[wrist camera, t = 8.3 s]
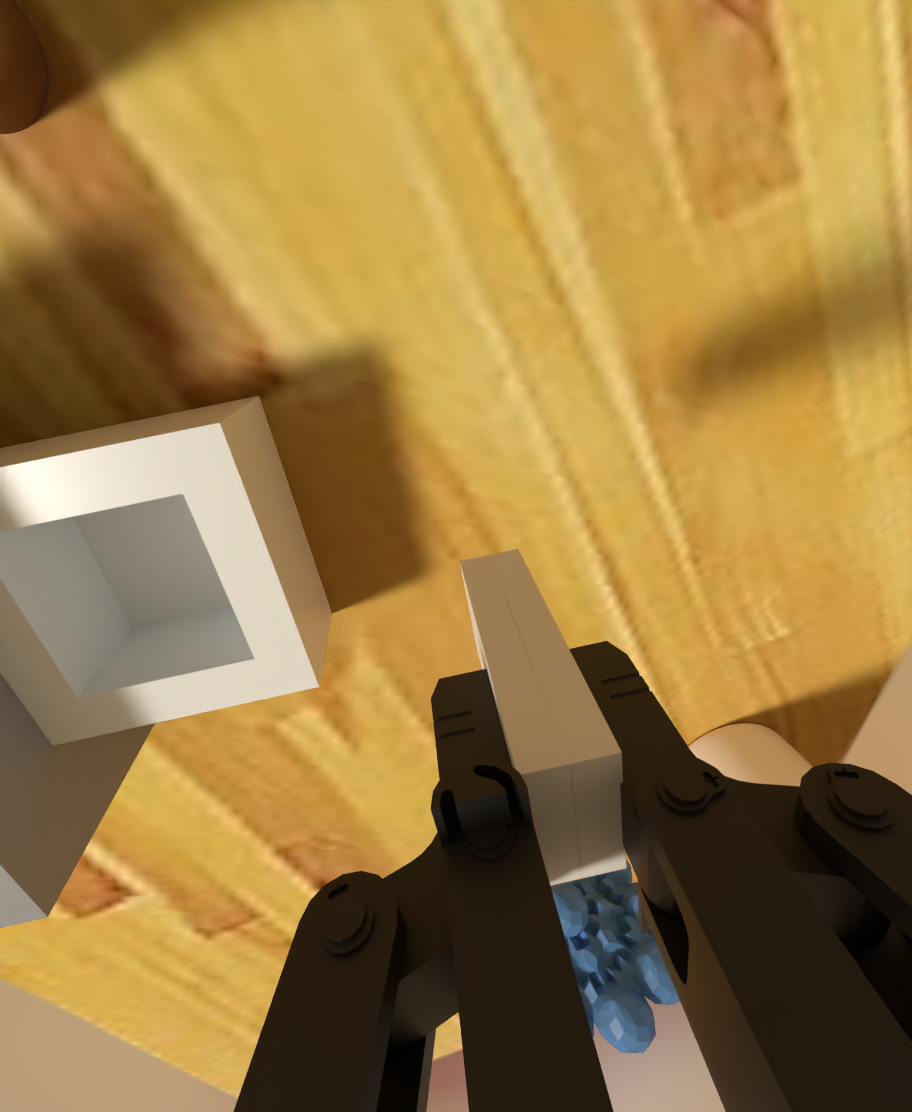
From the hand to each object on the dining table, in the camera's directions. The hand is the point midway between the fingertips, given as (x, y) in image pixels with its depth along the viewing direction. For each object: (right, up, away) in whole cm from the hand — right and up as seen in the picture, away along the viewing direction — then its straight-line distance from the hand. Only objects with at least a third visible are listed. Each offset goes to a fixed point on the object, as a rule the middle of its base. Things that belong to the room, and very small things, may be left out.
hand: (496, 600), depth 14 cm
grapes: (+5, -18, +23) cm, 29 cm away
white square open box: (-14, +2, +11) cm, 18 cm away
